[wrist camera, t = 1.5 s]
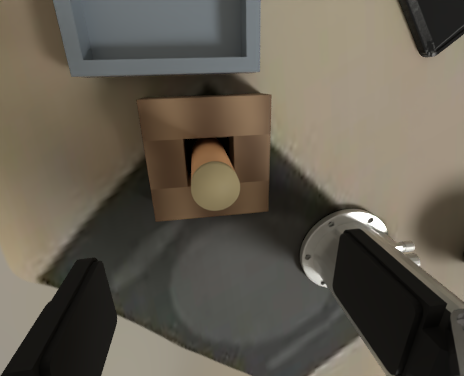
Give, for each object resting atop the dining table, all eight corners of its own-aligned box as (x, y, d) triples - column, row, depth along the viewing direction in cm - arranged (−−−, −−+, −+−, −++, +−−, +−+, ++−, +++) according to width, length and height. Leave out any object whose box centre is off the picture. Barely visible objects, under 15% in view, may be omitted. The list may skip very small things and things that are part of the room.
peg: (223, 135, 29) (239, 163, 18) (224, 166, 30) (240, 208, 20) (190, 136, 28) (188, 166, 18) (193, 168, 30) (193, 212, 19)
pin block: (260, 93, 28) (271, 94, 24) (259, 196, 32) (268, 211, 28) (144, 97, 26) (136, 99, 22) (160, 205, 31) (155, 221, 27)
